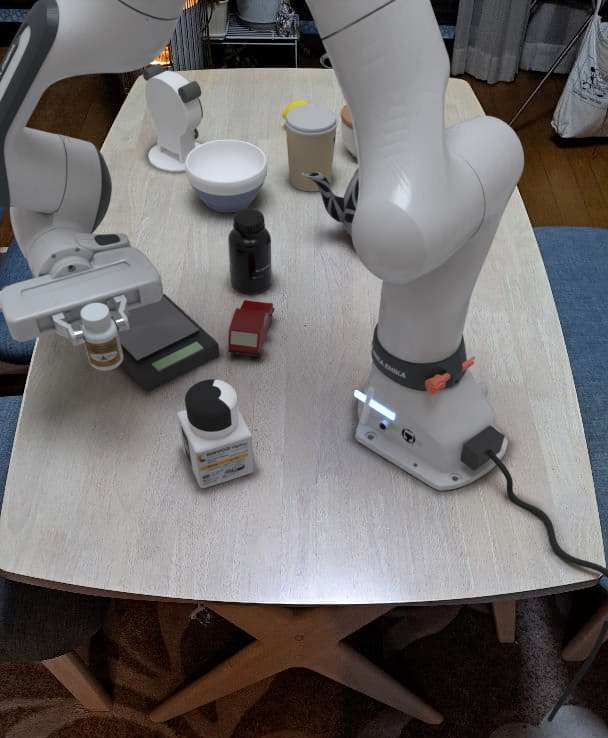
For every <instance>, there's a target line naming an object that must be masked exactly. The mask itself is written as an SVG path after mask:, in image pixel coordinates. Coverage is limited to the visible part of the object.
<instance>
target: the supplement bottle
mask: <svg viewBox="0 0 608 738" xmlns="http://www.w3.org/2000/svg"><path fill="white" fill-rule="evenodd" d="M227 243H228V245H227V246H228V261H229V275H230V283H231V286H232V287H233V288H234V289H235V290H236V291H238V292H240V293H242V294H247V295H254V294H255V295H256V294H260V293H263V292H265V291H266V290H267V289H268V288H269V287H270V286H271V283H272V236H271V234H270V232H269V230H268V229H267V228H266V223H265V215H264V213H263V212H262V211H260V210H258V209H255V208H245V209H243V210H240V211H237V212H234V215H233V224H232V229H231V230H230V232H229V234H228V237H227Z"/></svg>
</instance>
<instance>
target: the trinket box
mask: <svg viewBox="0 0 608 738" xmlns="http://www.w3.org/2000/svg"><path fill="white" fill-rule="evenodd" d="M340 119H341V122H340V129H341V136H342V140H343V141H342V142H343V143H344V146H345V147H346V149H347V150H348V151H349V152H350V153H351V156H352V157H353V158H355V159H357V160H358V158H357V149H356V142H355V136H354V130H353V125H352V121H351V117H350V114H349V111H348V107H347V105H346V104H345V105H344V106H343V107H342V108H341V110H340Z"/></svg>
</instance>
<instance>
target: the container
mask: <svg viewBox="0 0 608 738" xmlns="http://www.w3.org/2000/svg"><path fill="white" fill-rule="evenodd" d="M184 404H185V409H184V410H181V411H178V412H177V415H176V416H177V422H178V427H179V434H180V439H181V445H182V451H183V453H184V455H185V458H186V460H187V462H188V465H189V466H190V468H191V471H192V473H193V476H194V477H195V479H196V481H197V483H198V486H199V488H200V489H207V488H209V487H212V486H215V485H219V484H223V483H225V482H228V481H231V480H234V479H237V478H240V477H244V476H247V475H249V474H253V473H254V471H255V470H254V468H255V467H254V453H253V452H254V451H253V437H252V433H251V431H250V429H249V427H248V425H247V423H246V422H245V420H244V417H243V416H242V414H241V412H240V410H239V405H238V395H237V392H236V389H235V388H234V386H232V385H231V384H229V383H228V382H226V381H223V380H220V379H213V378H212V379H211V378H209V379H203V380H200V381H198V382H196V383H194V384H193V385H192V386H191V387H190V388H189V389H187V391H186V393H185V395H184Z"/></svg>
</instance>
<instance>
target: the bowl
mask: <svg viewBox="0 0 608 738" xmlns="http://www.w3.org/2000/svg"><path fill="white" fill-rule="evenodd" d="M200 144H201V145H199V146H197V147H196V148H194V149H193V150H192V151H191V152H190V153H189V154H188V155H187V157H186V162H185V170H186V171H185V175H186V178H187V181H188V183H189V185H190V186H191V187H192V190H193V191H195V192H196V194H197V196H198V197H199V198H200V199H201V200H202V201H203V202H204V203H205V205H206V206H207V207H208V208H209V209H211V210H213V211H216V212H219V213H236V212H238V211H240V210H243V209H248V207H250V205H251V204H252V203H253V201H254V199H255V198H256V197H257V195H258V194H259V193H260V190H261V188H262V187H263V185H264V184H265V183H264V182H265V180H266V179H267V176H268V160H267V156H266V154H265V153H264V151H263V150H262V149H261V148H259V147H258V146H256V145H255V144H253V143H250V142H247V141H244V140H239V139H229V138H228V139H227V138H226V139H215V140H210V141H207V142H204V143H200Z"/></svg>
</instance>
